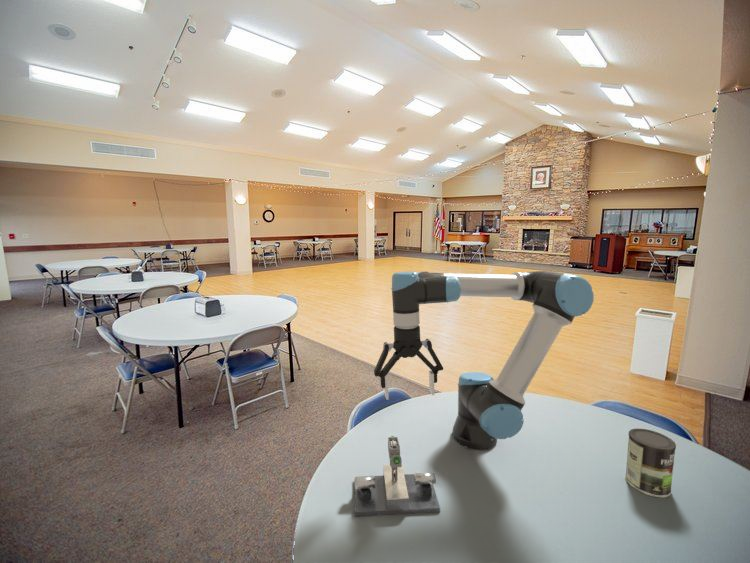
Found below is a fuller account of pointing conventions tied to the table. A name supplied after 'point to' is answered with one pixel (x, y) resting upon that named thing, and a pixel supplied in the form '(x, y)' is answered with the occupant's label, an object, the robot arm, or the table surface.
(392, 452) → the mechanical component
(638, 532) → the table surface
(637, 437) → the coffee can
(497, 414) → the robot arm
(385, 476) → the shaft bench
